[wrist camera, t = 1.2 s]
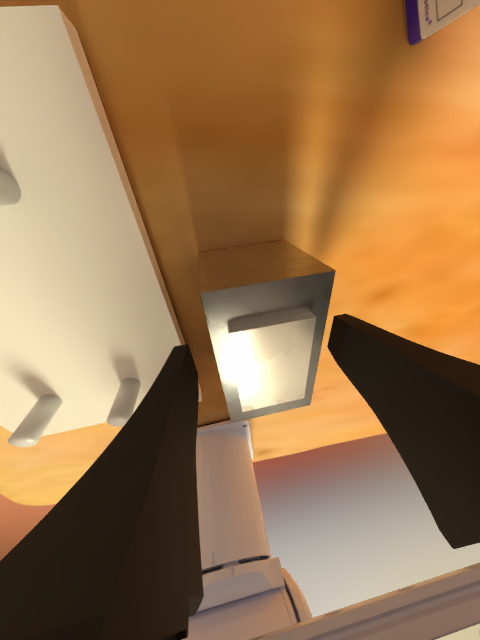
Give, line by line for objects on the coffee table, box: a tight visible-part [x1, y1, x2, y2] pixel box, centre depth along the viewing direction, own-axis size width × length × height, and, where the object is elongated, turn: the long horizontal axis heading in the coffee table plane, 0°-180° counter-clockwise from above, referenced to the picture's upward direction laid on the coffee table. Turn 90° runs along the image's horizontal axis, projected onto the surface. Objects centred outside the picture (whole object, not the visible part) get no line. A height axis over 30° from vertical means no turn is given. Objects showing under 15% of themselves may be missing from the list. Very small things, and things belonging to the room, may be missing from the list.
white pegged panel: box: [0, 5, 202, 447], centre depth 9 cm, size 18×13×4 cm
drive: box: [199, 240, 336, 423], centre depth 11 cm, size 8×5×5 cm, turn 6°
